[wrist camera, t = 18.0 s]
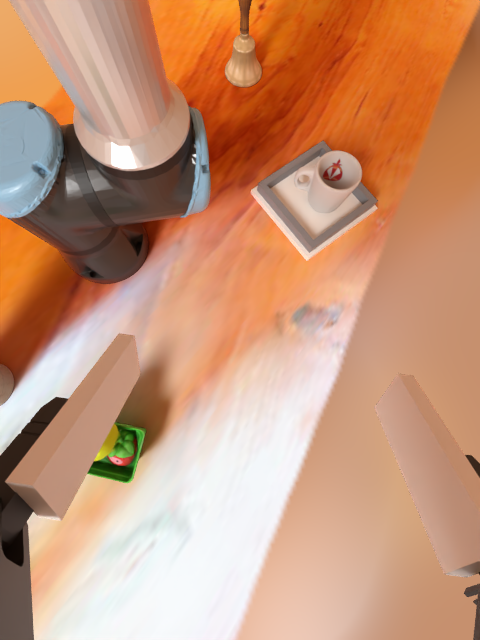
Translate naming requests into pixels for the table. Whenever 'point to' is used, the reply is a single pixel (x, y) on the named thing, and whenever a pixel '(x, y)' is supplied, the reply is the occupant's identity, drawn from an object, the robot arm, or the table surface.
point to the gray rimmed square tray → (296, 213)
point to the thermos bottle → (5, 383)
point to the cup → (330, 180)
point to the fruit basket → (119, 453)
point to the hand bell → (243, 54)
